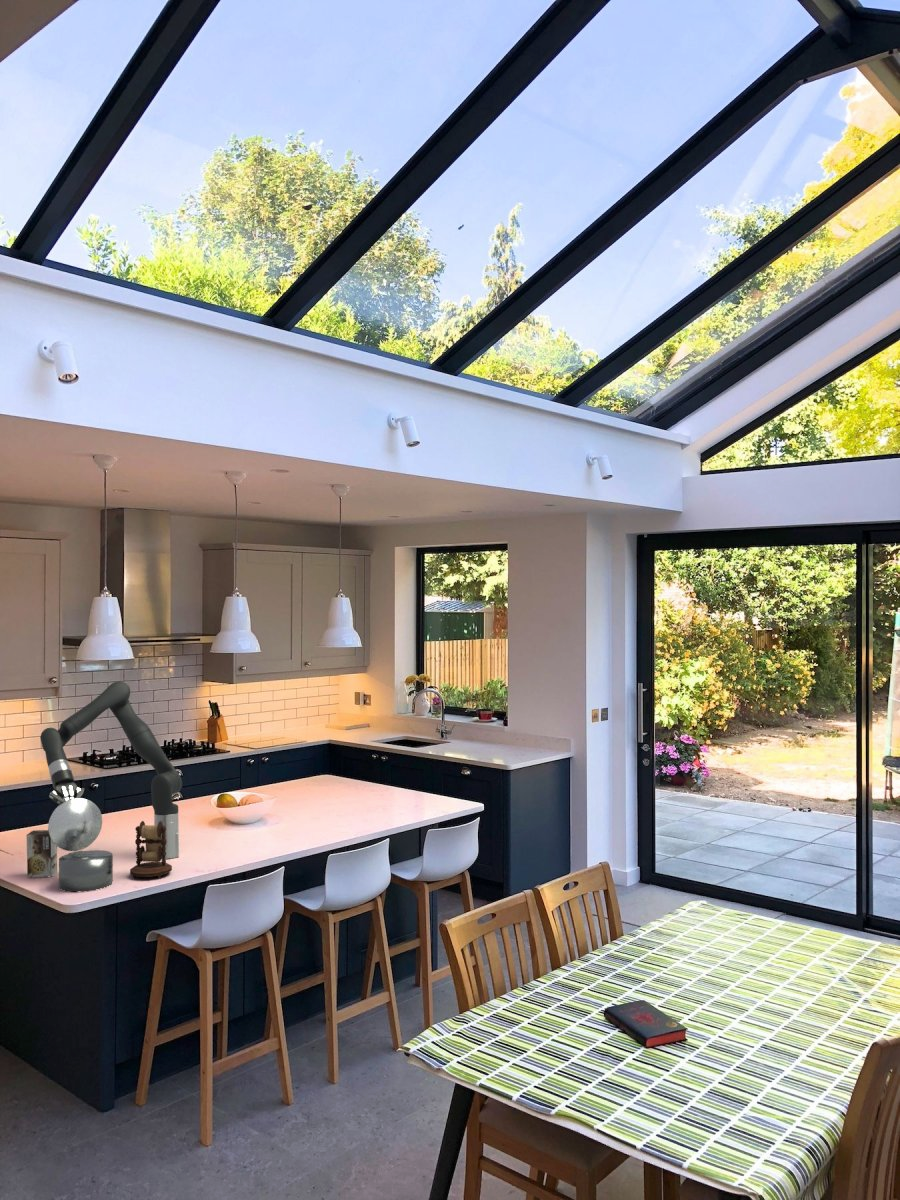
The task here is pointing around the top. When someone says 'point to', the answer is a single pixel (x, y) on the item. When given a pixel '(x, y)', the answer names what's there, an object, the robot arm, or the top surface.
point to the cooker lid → (75, 824)
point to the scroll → (151, 851)
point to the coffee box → (41, 854)
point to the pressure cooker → (85, 870)
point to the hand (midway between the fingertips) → (72, 812)
